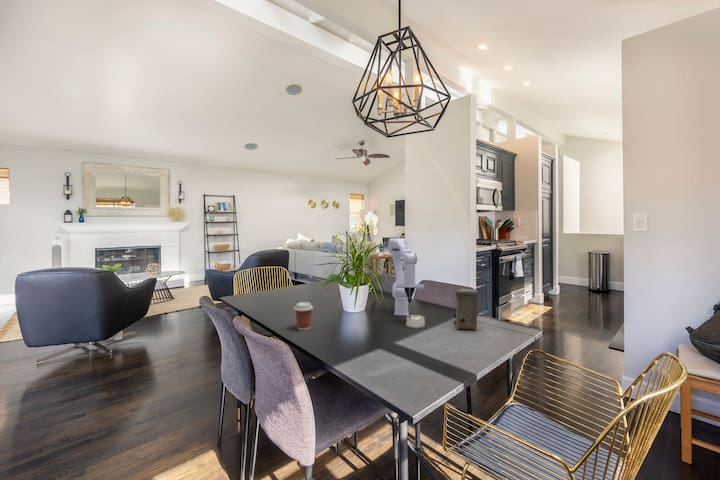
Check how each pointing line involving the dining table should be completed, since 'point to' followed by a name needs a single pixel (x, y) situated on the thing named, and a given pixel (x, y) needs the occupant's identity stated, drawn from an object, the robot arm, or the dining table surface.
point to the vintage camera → (466, 309)
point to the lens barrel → (415, 322)
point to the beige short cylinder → (415, 317)
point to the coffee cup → (303, 315)
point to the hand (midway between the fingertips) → (409, 302)
